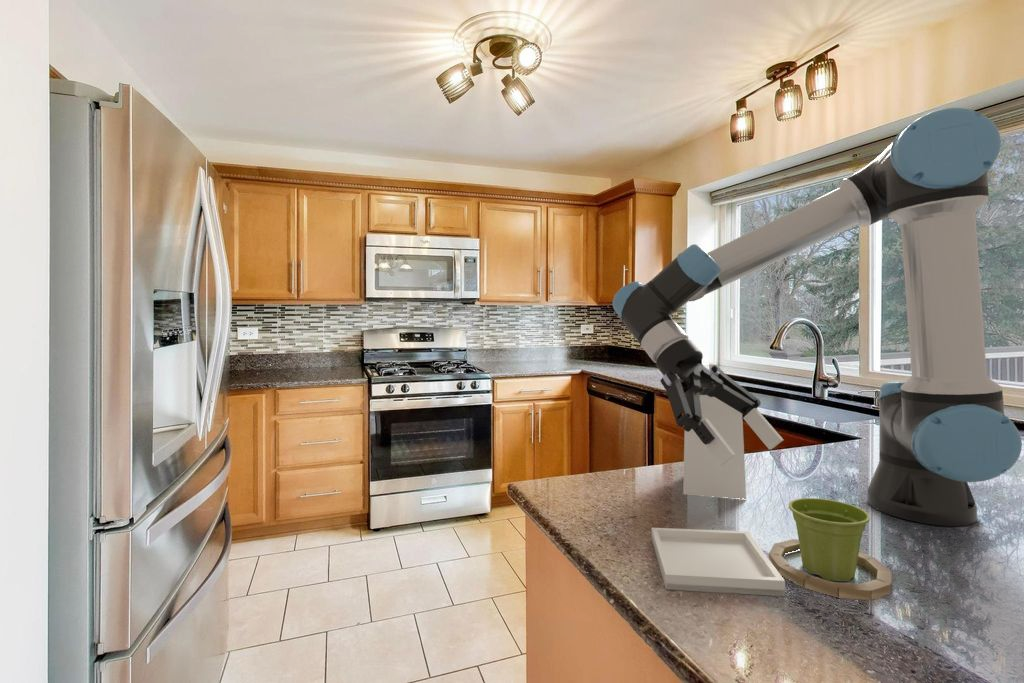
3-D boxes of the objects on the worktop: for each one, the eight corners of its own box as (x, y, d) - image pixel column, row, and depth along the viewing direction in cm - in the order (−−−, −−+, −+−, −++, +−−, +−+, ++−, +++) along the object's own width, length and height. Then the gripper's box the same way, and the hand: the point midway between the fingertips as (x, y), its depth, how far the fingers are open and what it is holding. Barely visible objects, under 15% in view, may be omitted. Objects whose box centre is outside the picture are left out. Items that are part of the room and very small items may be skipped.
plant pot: (778, 553, 73) (778, 496, 73) (846, 556, 72) (846, 498, 72) (806, 587, 64) (806, 522, 64) (885, 591, 63) (886, 524, 63)
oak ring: (855, 549, 74) (855, 541, 74) (917, 602, 60) (917, 593, 60) (756, 545, 76) (756, 537, 76) (794, 595, 62) (794, 586, 62)
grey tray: (748, 544, 77) (748, 531, 77) (785, 596, 62) (785, 580, 62) (651, 539, 79) (651, 527, 79) (665, 589, 64) (665, 574, 64)
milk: (746, 500, 95) (745, 366, 94) (683, 494, 99) (681, 365, 98) (742, 481, 106) (741, 360, 105) (685, 476, 110) (684, 360, 109)
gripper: (701, 360, 97) (778, 451, 85) (612, 370, 83) (688, 480, 72) (726, 334, 93) (810, 426, 81) (635, 340, 79) (721, 452, 67)
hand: (753, 452), depth 76 cm, fingers open, 13 cm apart
